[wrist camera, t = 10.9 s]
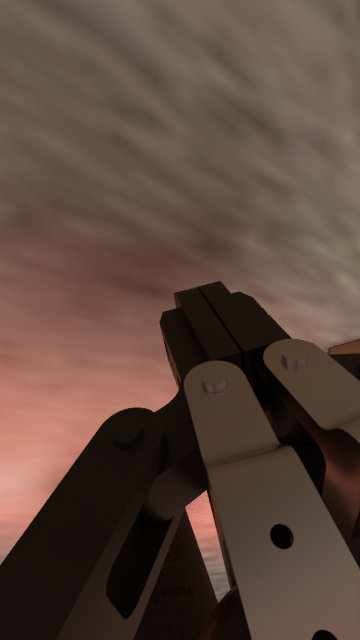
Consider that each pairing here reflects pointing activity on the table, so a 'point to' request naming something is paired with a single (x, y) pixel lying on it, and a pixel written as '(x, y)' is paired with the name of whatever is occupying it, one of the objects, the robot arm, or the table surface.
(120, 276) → the table surface
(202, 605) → the drinking cup
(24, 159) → the table surface
